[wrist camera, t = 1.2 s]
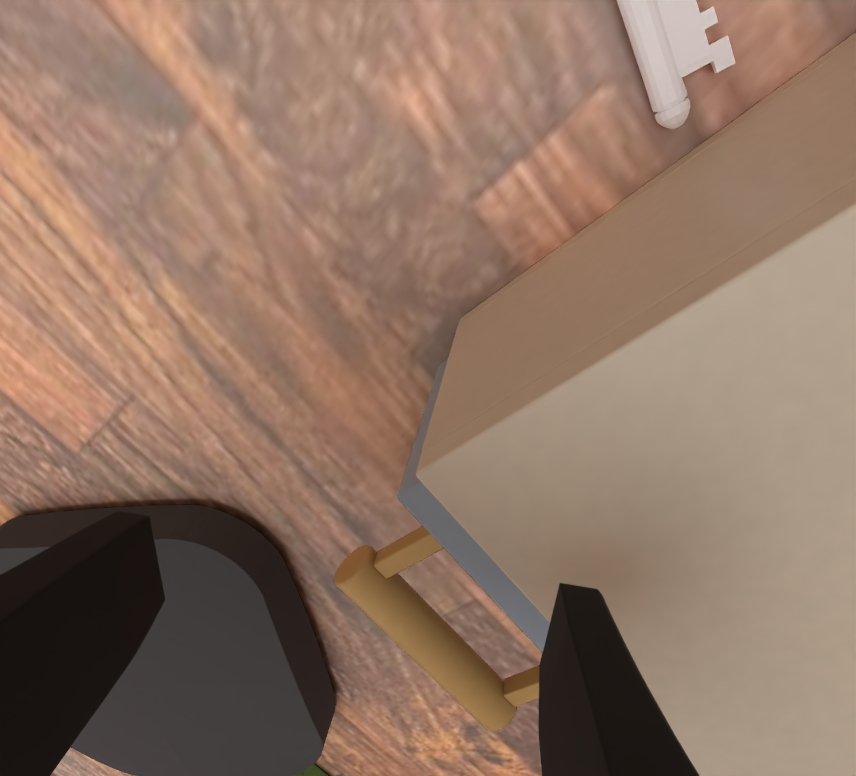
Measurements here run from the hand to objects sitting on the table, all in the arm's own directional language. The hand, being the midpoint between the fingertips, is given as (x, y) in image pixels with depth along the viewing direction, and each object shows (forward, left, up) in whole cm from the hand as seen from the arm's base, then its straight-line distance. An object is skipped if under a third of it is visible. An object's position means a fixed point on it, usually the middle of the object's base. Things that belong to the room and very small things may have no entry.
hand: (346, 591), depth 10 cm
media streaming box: (-3, +18, -10) cm, 21 cm away
